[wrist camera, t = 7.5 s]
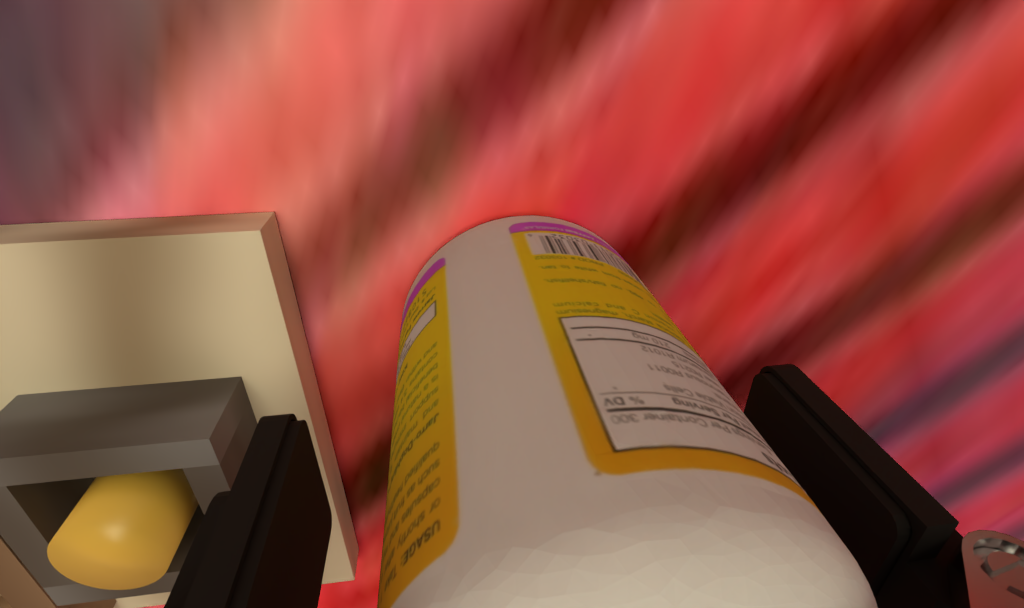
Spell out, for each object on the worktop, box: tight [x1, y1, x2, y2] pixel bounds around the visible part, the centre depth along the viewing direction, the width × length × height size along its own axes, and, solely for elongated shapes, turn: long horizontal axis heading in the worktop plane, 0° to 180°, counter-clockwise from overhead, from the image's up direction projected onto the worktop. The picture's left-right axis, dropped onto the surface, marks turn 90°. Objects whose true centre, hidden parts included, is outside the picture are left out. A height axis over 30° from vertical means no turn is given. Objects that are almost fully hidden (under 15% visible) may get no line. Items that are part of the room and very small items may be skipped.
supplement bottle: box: [377, 215, 878, 608], centre depth 9 cm, size 7×7×13 cm
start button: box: [47, 468, 199, 590], centre depth 13 cm, size 2×2×3 cm
